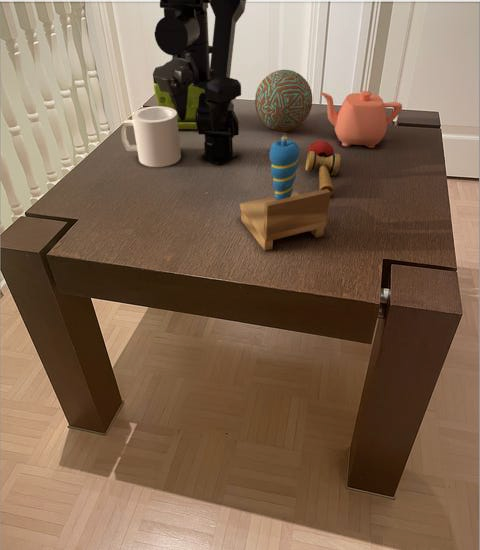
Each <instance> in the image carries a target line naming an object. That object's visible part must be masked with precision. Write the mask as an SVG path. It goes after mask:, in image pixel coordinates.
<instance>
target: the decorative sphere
mask: <svg viewBox="0 0 480 550" xmlns="http://www.w3.org/2000/svg"><path fill="white" fill-rule="evenodd" d="M309 84H310V83H309V82H308V81H307V79H306V78H305V77H304V76H302V75H301V74H300V73H298V72H296V71H294V70H290V69H279V70H275V71H273V72H271V73H269V74H268V75H266V76H265V77H264V78H263V80H261V82H260V83H259V85H258V87H257V89H256V92H255V99H254V107H255V111H256V113H257V116H258V117H259V120H261V122H262V123H263V124H264V125H265V126H266V127H268V128H269V129H272V130H275V131H278V132H285V131H286V132H287V131H291V130H294V129H296V128H298V127H299V126H301V125H302V124H303V123H304V122H305V121H306V120H307V118H308V117H309V114H310V113H311V110H312V108H313V107H312V106H313V93H312V89H311V86H310V85H309Z"/></svg>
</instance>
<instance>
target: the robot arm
mask: <svg viewBox="0 0 480 550" xmlns="http://www.w3.org/2000/svg"><path fill="white" fill-rule="evenodd" d="M246 3H247V0H159V8H160V9H163V17H161V18H160V19H159V20H158V22H157V23H156V26H155V29H154V40H155V42H156V44H157V46H158V47H159V49H160V51H162V52H163V53H164V54H166V55H169V56H171V60H169V61H167V62H166V63H164V64H163V65H159V66H156V67H155V68H154V70H153V72H152V79H153V84H154V83H155V84H158V87H159V89H160V91H162V92H166V93H168V94H169V96H170V98H171V100H172V102H173V104H174V107H175V109H176V111H177V114H178V116H179V118H180V120H181V121H183V120H185V118H186V111H187V98H188V87H189V86H190V85H191V86H194V87H198V88H201V89H205V92H204V93H201V94H200V96H199V104H198V108H197V110H196V115H195V119H196V124H197V129H196V130H197V133H198V135H200V136H201V135H204V143H203V145H204V154H201V157H200V158H202V159H204V160H207V161H210V162H211V163H213V164H217V165H223V164H225V163H228V162H229V161H231V160H233V159H235V158H237V157H238V156H239V155H238V153H236V152H234V150H233V149H234V148H233V147H234V146H233V139H234V138H235V137H236V136H238V135H240V124H239V122H240V121H239V119H238V116H237V114H236V112H235V110H234V107H235V105H234V103H233V101H234V100H236V99H237V98H238V97H240V96H242V83H241V82H240V81H239V80H238V79H237V78H232V77H231V71H232V62H233V53H234V44H235V33H236V25H237V23H238V21H239V20H240V18H241V17H242V16H243V14H244V13H245V10H246ZM209 6H210V8H211V10H212V12H213V15H214V25H213V34H212V44H211V45H210V41H209V20H208V19H209V16H208V8H209Z"/></svg>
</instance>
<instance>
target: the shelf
mask: <svg viewBox="0 0 480 550" xmlns="http://www.w3.org/2000/svg"><path fill="white" fill-rule="evenodd" d="M330 198H331V196H330V191H329V190H328V189H324V190H320V191H319V190H316V191H311V192H306V193H303V194H299V193H298V192H297V191H292V194H291V197H288V198H284V199H280V200H275V197H274V195H272V196H267V197H263V198H258V199H254V200H249V201H244V202H240V203H239V209H240V217H241V218H240V221H241V222H242V223H243V224H244V225H245V227H246V228H247V229H248V231H249V232H250V234H251V235H252V237H254V239H255V240H256V242H257V243H258V244H259V246H261V248H262V249H263V251H266V252H267V251H269V250H273V246H274V245H273V244H274V241H275V240H279V239H282V238H287V237H290V236H295V235H299V234H302V233H307V232H310V234H311V235H312V236H313V237H314V238H320V237H323V236H324V231H325V228H326V227H327V220H328V213H329V206H330Z"/></svg>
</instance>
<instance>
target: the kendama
mask: <svg viewBox="0 0 480 550" xmlns="http://www.w3.org/2000/svg"><path fill="white" fill-rule="evenodd" d="M307 149H308V150H307V154H306V160H305V161H306V162H305V171H306V172H312V171H313V170H317V169H318V170H319V172H318V184H319V186H318V187H319V189H318V191H320V190H324V189H328V190H329V191H330V197H332V196H333V195H334V193H335V190H334V186H333V183H332V180H331V176H334V177H335V176H337V175H338V172H339V170H340V166H341V154H339V153H334V152H335V151H334V147H333V146H332V144H331V143H330V142H328V141H327V140H323V139H319V140H316V141H314V142H312V143H311V144H310V145H309V147H308V148H307Z"/></svg>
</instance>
